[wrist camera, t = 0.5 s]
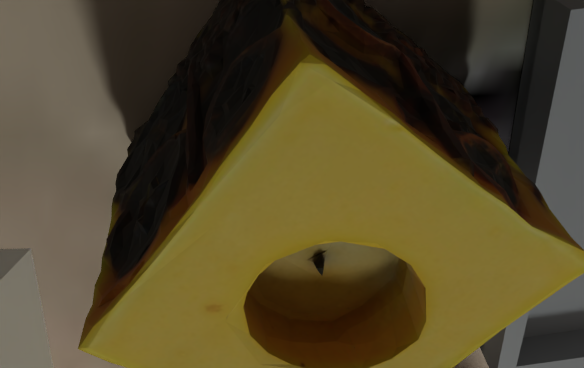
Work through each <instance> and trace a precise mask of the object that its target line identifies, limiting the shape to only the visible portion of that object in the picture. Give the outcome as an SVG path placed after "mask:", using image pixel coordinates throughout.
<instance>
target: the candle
mask: <svg viewBox="0 0 584 368" xmlns="http://www.w3.org/2000/svg"><path fill="white" fill-rule="evenodd" d="M168 85H169V87H168V88H167V90H166V92H165V93H164V95H163V96H162V98H161V99H160V101H159V103H158V104H157V106H156V108H155V110H154V112H153V114H152V116H151V117H150V119H149V121H148V122H146V123H145V124H144V125H142V126H141V127H140V128H139V129H137V130H136V131H135V135H134V139H133V141H132V143H131V144H130V146H129V147H128V149H127V151H128V157H127V159H126V161H125V162H124V164H123V166H122V167H121V169H120V171H119V172H118V174H117V179H116V193H115V195H114V198H113V203H112V218H111V224H110V228H109V233H108V238H107V242H106V246H105V250H104V253H103V257H102V267H101V273H100V275H99V277H98V280H97V282H96V284H95V289H94V297H93V305H92V307H91V309H90V311H89V313H88V315H87V317H86V320H85V324H84V328H83V332H82V336H81V339H80V343H79V347H78V349H79V350H82V351H84V352H86V353H89V354H91V355H94V356H96V357H98V358H101V359H103V360H106V361H108V362H111V363H114V364H117V365H121V366H124V367H127V368H453V367H454V366H456V365H457V364H458V363H459V362H461V361H462V360H463V359H465V358H466V357H467V356H469V355H470V354H471V353H472V352H474V351H475V350H476V349H478V348H479V347H480V346H482V345H483V344H484V343H485V342H487V341H488V340H489V339H491V338H492V337H493V336H495V335H496V334H497V333H498V332H500V331H501V330H502V329H504V328H505V327H507V326H508V325H510V324H511V323H512V322H514V321H515V320H517V319H518V318H520V317H521V316H522V315H524V314H525V313H527V312H528V311H530V310H531V309H532V308H534V307H535V306H537V305H538V304H540V303H541V302H543V301H544V300H545V299H547V298H548V297H550V296H551V295H553V294H554V293H555V292H557V291H558V290H560V289H561V288H563V287H564V286H565V285H567V284H568V283H570V282H571V281H573V280H574V279H576V278H577V277H579V276H580V275H582V274H583V273H584V249H583V248H582V247H581V246H580V245H578V244H577V243H576V242H575V241H574V240H573V239H572V237H571V236H570V235H569V233H568V232H567V231H566V230H565V228H564V227H563V226H562V224H561V223H560V222H559V220H558V219H557V218H556V217H555V215H554V214H553V213H552V211H551V210H550V209H549V207H548V205H547V203H546V201H545V199H544V198H543V196H542V194H541V192H540V191H539V189H538V188H537V186H536V185H535V183H533V182H532V181H531V180H530V179H529V178H527V177H526V176H525V175H524V173H523V172H522V171H521V169H520V168H519V167H518V165H517V164H516V163H515V162H514V161H513V160H512V159H511V158H510V156H509V155H508V152H507V149H506V146H505V145H504V143H503V142H502V140H501V139H500V137H499V135H498V129H497V128H496V127H495V126H494V124H493V123H492V122H491V121H490V120H489V119H488V118H485V117H484V115H483V113H482V110H481V108H480V107H478V106H477V104H476V102H475V101H474V99H473V97H472V96H471V95H470V94H469V93H468V91H467V90H466V89H465V88H464V87H463V85H462V84H461V83H460V82H459V81H458V80H456V79H455V78H454V77H452V76H451V75H449V74H448V73H447V72H445V71H444V70H443V69H442V68H441V67H440V66H439V65H438V64H436V63H435V62H434V61H433V60H432V59H430V58H429V57H428V56H427V54H426V53H425V51H424V50H423V48H418V47H417V46H416V45H415V44H414V42H413V41H412V40H411V39H410V38H408V37H407V36H406V35H404V34H403V33H401V32H400V31H398V30H397V29H395V28H393V27H392V26H391V24H390V23H389V22H388V21H387V19H385V18H384V17H383V16H381V15H380V14H379V13H378V12H377V11H376V10H374V9H373V8H369V7H364V1H363V0H220V2H219V4H218V6H217V8H216V9H215V11H214V13H213V15H212V17H211V18H210V20H209V21H208V22H207V24H206V25H205V26H204V28H203V29H202V30H201V31H200V33H199V34H198V35H197V37H196V39H195V40H194V42H193V43H192V45H191V48H190V51H189V54H188V56H187V57H186V59H184V60H182V61H181V62H180V63H179V64H178V65H177V72H176V73H175V75H174V76H173V77H172V78H171V79H170V80H169V81H168Z"/></svg>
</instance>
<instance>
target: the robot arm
mask: <svg viewBox="0 0 584 368" xmlns="http://www.w3.org/2000/svg"><path fill="white" fill-rule="evenodd" d="M0 368H54V367H53V362H52V357H51V351H50V346H49V341H48V335H47V330H46V325H45V319H44V314H43V309H42V304H41V298H40V293H39V288H38V282H37V277H36V272H35V266H34V261H33V256H32V250H31V248H28V249H0Z"/></svg>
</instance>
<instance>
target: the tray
mask: <svg viewBox="0 0 584 368" xmlns="http://www.w3.org/2000/svg"><path fill="white" fill-rule="evenodd" d="M509 156H510V158H511V159H512V160H513V161H514V162H515V163H516V164H517V165H518V167H519V168H520V169H521V171H522V172H523V173H524V175H525V176H526V177H527V178H529V179H530V180H531V181H532V182H533V183H535V185H536V186H537V188H538V189H539V191H540V192H541V194H542V196H543V198H544V199H545V201H546V203H547V205H548V207H549V209H550V210H551V211H552V213H553V214H554V215H555V217H556V218H557V219H558V220H559V222H560V223H561V224H562V226H563V227H564V228H565V230H566V231H567V232H568V233H569V235H570V236H571V237H572V239H573V240H574V241H575V242H576V243H577V244H578V245H580V246H581V247H582V248H583V249H584V0H534V2H533V8H532V14H531V20H530V26H529V32H528V38H527V45H526V51H525V57H524V63H523V69H522V75H521V81H520V88H519V94H518V100H517V106H516V112H515V118H514V124H513V131H512V137H511V143H510V149H509ZM480 348H481V351H482V353H483V355H484V357H485V359H486V362H487V364H488V366H489V368H584V273H583V274H582V275H580V276H579V277H577V278H576V279H574V280H573V281H571V282H570V283H568V284H567V285H565V286H564V287H563V288H561V289H560V290H558V291H557V292H555V293H554V294H553V295H551V296H550V297H548V298H547V299H545V300H544V301H543V302H541V303H540V304H538V305H537V306H535V307H534V308H532V309H531V310H530V311H528V312H527V313H525V314H524V315H522V316H521V317H520V318H518V319H517V320H515V321H514V322H512V323H511V324H510V325H508V326H507V327H505V328H504V329H502V330H501V331H500V332H498V333H497V334H496V335H495V336H493V337H492V338H491V339H489V340H488V341H487V342H485V343H484V344H483V345H482V346H480Z"/></svg>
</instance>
